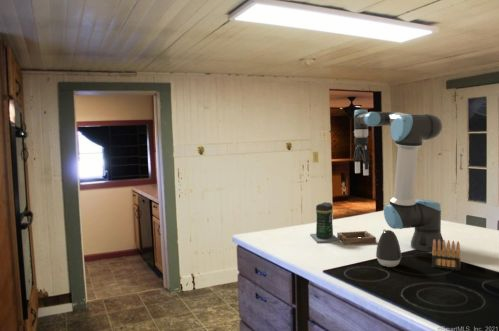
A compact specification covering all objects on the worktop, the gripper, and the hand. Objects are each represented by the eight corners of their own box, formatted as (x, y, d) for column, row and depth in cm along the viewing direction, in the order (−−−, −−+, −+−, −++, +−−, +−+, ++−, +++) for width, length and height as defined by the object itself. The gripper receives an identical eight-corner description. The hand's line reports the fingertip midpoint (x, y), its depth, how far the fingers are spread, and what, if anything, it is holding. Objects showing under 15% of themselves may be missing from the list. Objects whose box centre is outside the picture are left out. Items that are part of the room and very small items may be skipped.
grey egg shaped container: (395, 260, 182) (395, 226, 180) (405, 268, 171) (405, 232, 170) (372, 261, 181) (372, 227, 180) (381, 269, 171) (380, 233, 170)
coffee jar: (328, 239, 216) (327, 204, 215) (314, 238, 221) (313, 203, 219) (335, 235, 224) (334, 201, 223) (321, 234, 229) (321, 200, 227)
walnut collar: (375, 243, 211) (375, 237, 210) (345, 244, 209) (345, 239, 209) (366, 236, 225) (366, 231, 224) (337, 238, 223) (337, 232, 223)
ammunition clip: (460, 269, 168) (460, 240, 167) (460, 270, 166) (460, 241, 165) (432, 266, 173) (432, 238, 173) (431, 267, 172) (431, 239, 171)
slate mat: (339, 241, 215) (339, 240, 215) (317, 243, 214) (317, 241, 214) (331, 234, 231) (331, 232, 231) (310, 235, 230) (310, 233, 230)
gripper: (347, 137, 247) (348, 172, 248) (362, 137, 222) (363, 176, 223) (360, 136, 247) (360, 171, 249) (376, 136, 222) (376, 175, 224)
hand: (361, 174), depth 236 cm, fingers open, 13 cm apart
